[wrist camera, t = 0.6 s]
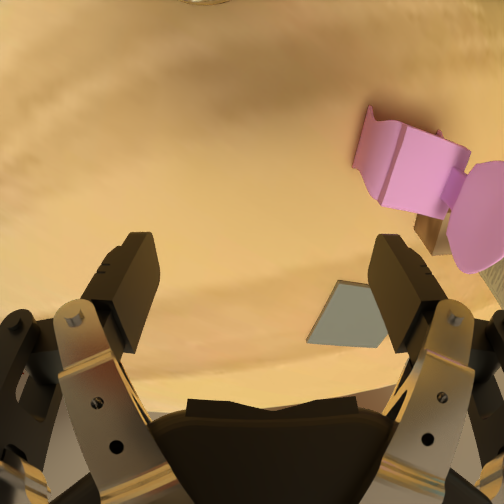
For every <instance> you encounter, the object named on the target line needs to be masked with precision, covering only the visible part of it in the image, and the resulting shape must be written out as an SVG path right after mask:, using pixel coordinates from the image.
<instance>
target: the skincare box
mask: <svg viewBox="0 0 504 504" xmlns="http://www.w3.org/2000/svg"><path fill="white" fill-rule="evenodd" d="M479 274H480V275H481V277H482V278H483V280H484V281H485V283H486V284H487V286H488V287H489V289H490V290H491V292H492V293H493V295H494V297H495V298H496V300H497V301H498V303H499V305H500V306H501V308H502V310H504V257H503V258H502V259H501V260H500V261H498V262H497V263H495V264H494V265H492V266H490V267H488V268H487V269H485V270H482V271H480V272H479Z"/></svg>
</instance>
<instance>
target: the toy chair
mask: <svg viewBox="0 0 504 504" xmlns="http://www.w3.org/2000/svg"><path fill="white" fill-rule="evenodd" d="M470 154H471V151H470V150H468V149H467V148H466V147H464V146H462V145H459V144H456V143H454V142H452V141H449V140H447V139H444V137H443V135H442V132H441V130H438V131H437V134H436V135H434V134H431V133H429V132H426V131H424V130H421V129H419V128H416V127H413V126H410V125H408V124H405V123H403V122H400V121H397V120H386V121H376V120H375V118H374V116H373V108H372V106H370V105H369V106H368V110H367V114H366V118H365V122H364V126H363V129H362V133H361V137H360V141H359V144H358V148H357V151H356V155H355V158H354V162H353V166H352V168H357V169H358V170H359V171H360V173H361V175H362V178H363V180H364V183H365V185H366V188H367V190H368V192H369V194H370V195H371V196H372V197H373V198H374V199H376V200H377V201H378V202H379V204H380V205H381V206H384V207H388V208H393V209H398V210H404V211H409V212H414V213H418V214H422V215H426V216H429V217H433V218H437V219H441V220H444V218H445V216H446V214H447V212H448V209H449V208H450V209H451V214H450V218H449V222H448V227H447V232H446V235H447V238H448V241H449V245H450V248H451V252H452V255H453V258H454V261H455V263H456V265H457V267H458V268H459V269H460V270H461V271H462V272H464V273H467V274H473V273H477V272H480V271H482V270H485V269H487V268H488V267H490V266H492V265H494V264H495V263H497V262H498V261H500V260H501V259H502V258H503V257H504V161H490V162H485V163H481V164H476V165H475V166H474V167H473V169H472V170H471V171H470V172H469V174H468V175H467V174H466V173H465V172H464V170H465V168H466V165H467V163H468V160H469V157H470Z"/></svg>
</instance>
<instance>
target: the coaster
mask: <svg viewBox="0 0 504 504" xmlns="http://www.w3.org/2000/svg"><path fill="white" fill-rule="evenodd" d="M387 334H388V332H387V329H386V326H385V324H384V321H383V319H382V316H381V313H380V311H379V308H378V306H377V303H376V301H375V298H374V296H373V294H372V291H371V289H370V286H369V285H367V284H360V283H354V282H347V281H341V280H338V281H337V283H336V285H335V287H334V289H333V291H332V293H331V295H330V297H329V299H328V301H327V303H326V305H325V306H324V308H323V310H322V312H321V314H320V316H319V318H318V319H317V321H316V323H315V325H314V327H313V329H312V330H311V332H310V334H309V336H308V337H307V339H306V343H311V344H322V345H335V346H350V347H367V348H377V347H378V346H379V344H380V343H381V342H382V341H383V339H384V338H385V337H386V336H387Z"/></svg>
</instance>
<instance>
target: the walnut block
mask: <svg viewBox="0 0 504 504" xmlns="http://www.w3.org/2000/svg"><path fill="white" fill-rule="evenodd" d="M450 214H451V209H450V208H449V209H448V212H447V214H446V216H445V218H444V220H441V219H437V218H433V217H429V216H426V215H422V214H418V213H417V217H416V222H415V226H414V230H415V231H416V233H417V234H418V236H419V237H420V239H421V240H422V242H423V243H424V245H425V246H426V248H427V249H428V251H429V252H430V254H431V255H432V256H436V255H452V252H451V248H450V245H449V241H448V238H447V235H446V232H447V227H448V222H449V218H450Z"/></svg>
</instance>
